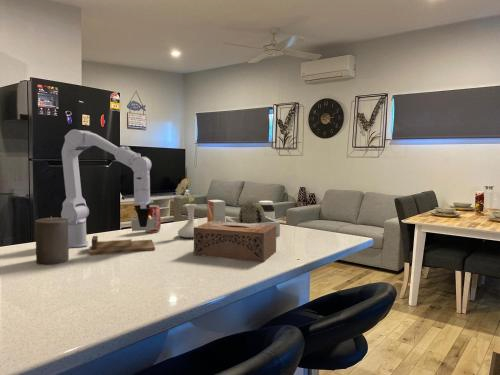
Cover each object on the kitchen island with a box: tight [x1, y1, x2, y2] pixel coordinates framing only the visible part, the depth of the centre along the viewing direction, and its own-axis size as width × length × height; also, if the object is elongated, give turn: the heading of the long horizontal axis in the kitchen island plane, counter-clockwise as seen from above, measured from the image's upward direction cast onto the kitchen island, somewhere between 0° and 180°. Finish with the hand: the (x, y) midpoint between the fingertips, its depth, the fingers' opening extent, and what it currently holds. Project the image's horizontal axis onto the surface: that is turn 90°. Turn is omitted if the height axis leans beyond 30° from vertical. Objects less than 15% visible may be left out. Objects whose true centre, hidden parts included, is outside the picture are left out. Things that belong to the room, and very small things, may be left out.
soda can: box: [144, 204, 162, 234], centre depth 175 cm, size 7×7×12 cm
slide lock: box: [130, 216, 154, 232], centre depth 146 cm, size 8×6×5 cm
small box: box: [206, 199, 226, 223], centre depth 187 cm, size 8×6×13 cm
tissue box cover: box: [193, 221, 277, 263], centre depth 138 cm, size 26×14×10 cm, turn 70°
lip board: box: [89, 235, 156, 256], centre depth 145 cm, size 22×14×4 cm, turn 109°
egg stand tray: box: [225, 216, 281, 237], centre depth 174 cm, size 19×19×6 cm
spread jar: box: [258, 200, 276, 220], centre depth 196 cm, size 12×11×12 cm
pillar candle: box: [34, 216, 70, 266], centre depth 127 cm, size 10×10×15 cm
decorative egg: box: [238, 199, 265, 224], centre depth 173 cm, size 12×12×15 cm
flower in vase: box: [174, 178, 199, 239], centre depth 164 cm, size 13×11×25 cm
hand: (142, 225), depth 146 cm, fingers closed on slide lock, 6 cm apart
